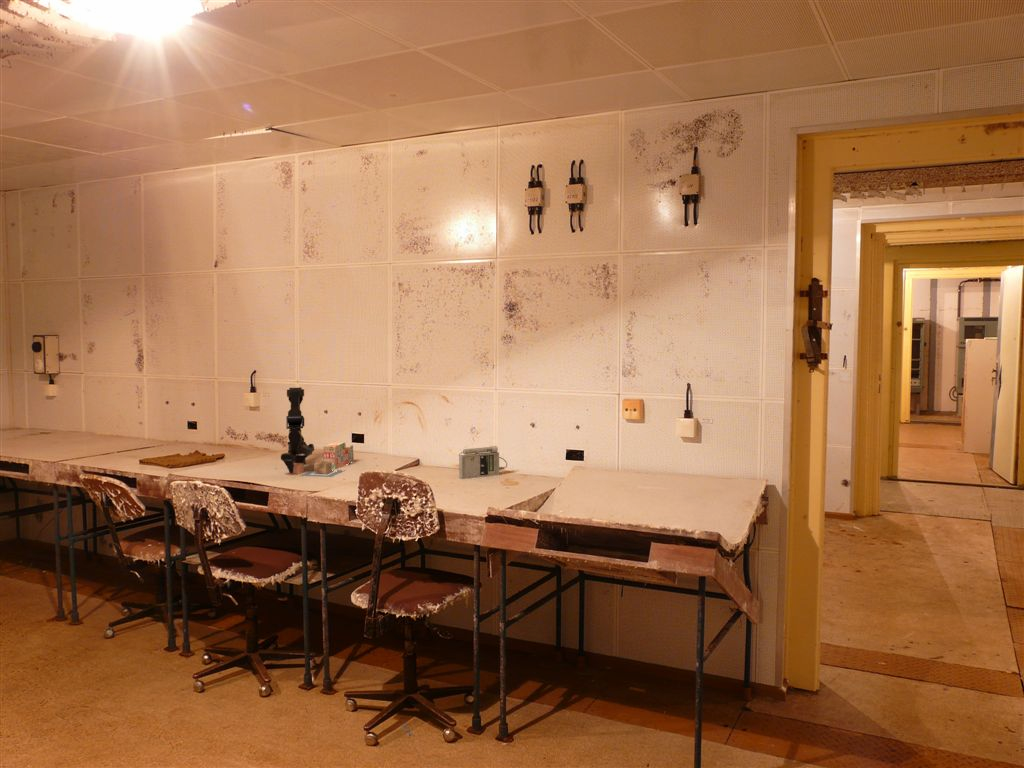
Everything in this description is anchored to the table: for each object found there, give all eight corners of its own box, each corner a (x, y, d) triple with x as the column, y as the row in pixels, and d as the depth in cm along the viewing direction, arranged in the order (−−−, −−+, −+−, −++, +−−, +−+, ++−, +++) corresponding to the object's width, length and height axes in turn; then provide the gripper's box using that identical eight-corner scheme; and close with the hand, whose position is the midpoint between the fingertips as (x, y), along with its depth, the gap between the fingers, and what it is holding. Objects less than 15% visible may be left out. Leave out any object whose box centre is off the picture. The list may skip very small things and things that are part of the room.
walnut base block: (314, 473, 377) (314, 463, 376) (320, 471, 382) (320, 461, 382) (326, 474, 375) (325, 464, 375) (331, 472, 381) (331, 461, 381)
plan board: (299, 476, 373) (299, 475, 373) (315, 470, 388) (315, 469, 388) (331, 478, 369) (331, 476, 369) (345, 471, 385) (345, 470, 385)
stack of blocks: (342, 462, 410) (342, 438, 409) (353, 462, 409) (353, 439, 408) (323, 470, 389) (323, 445, 388) (335, 470, 388) (334, 446, 387)
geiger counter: (461, 449, 364) (510, 445, 375) (456, 447, 369) (504, 443, 381) (462, 479, 365) (510, 474, 376) (456, 477, 370) (504, 472, 382)
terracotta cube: (289, 475, 378) (288, 464, 378) (294, 473, 383) (293, 462, 382) (298, 475, 377) (298, 465, 376) (303, 473, 382) (303, 463, 381)
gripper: (301, 443, 368) (302, 476, 369) (319, 437, 386) (320, 468, 387) (279, 442, 370) (280, 475, 371) (299, 436, 388) (300, 467, 390)
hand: (296, 471), depth 380 cm, fingers open, 9 cm apart
